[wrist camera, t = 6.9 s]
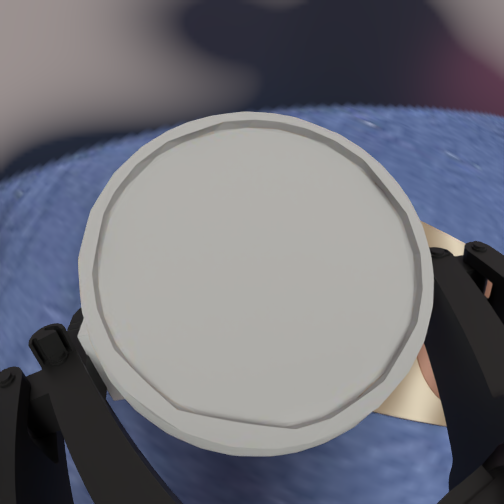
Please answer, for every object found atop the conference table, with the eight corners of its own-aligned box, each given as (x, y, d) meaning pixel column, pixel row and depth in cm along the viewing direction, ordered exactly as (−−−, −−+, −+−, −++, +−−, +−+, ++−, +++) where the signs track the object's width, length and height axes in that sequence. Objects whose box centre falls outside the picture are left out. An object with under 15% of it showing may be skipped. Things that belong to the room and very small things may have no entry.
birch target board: (338, 402, 18) (346, 403, 17) (385, 214, 25) (392, 205, 24) (508, 433, 17) (518, 433, 15) (525, 287, 23) (533, 282, 22)
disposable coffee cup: (128, 336, 17) (3, 259, 6) (231, 229, 20) (243, 69, 9) (251, 443, 15) (300, 542, 4) (347, 320, 18) (481, 234, 7)
